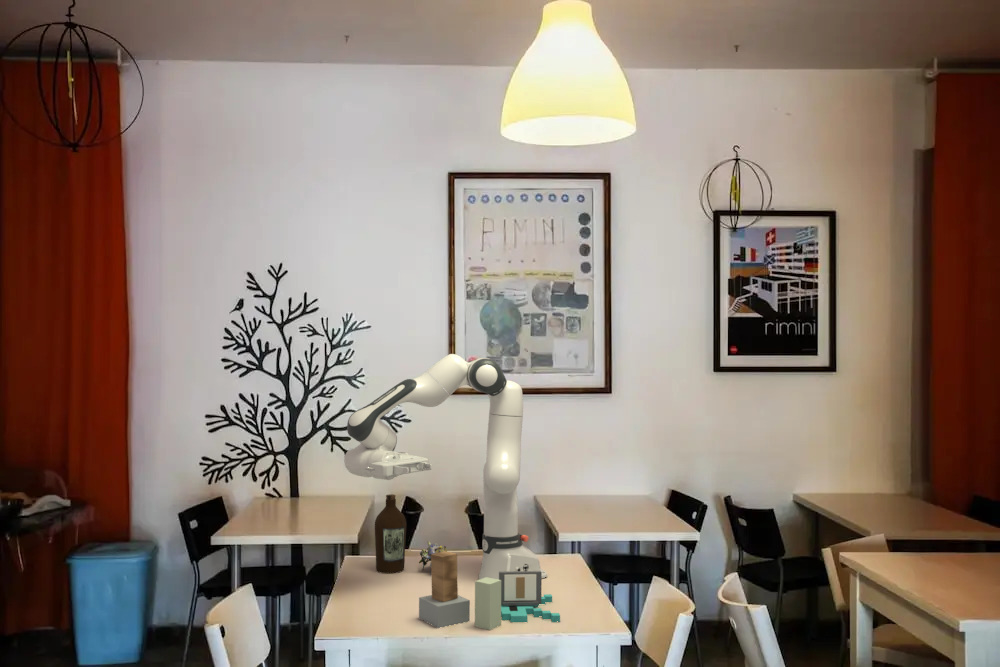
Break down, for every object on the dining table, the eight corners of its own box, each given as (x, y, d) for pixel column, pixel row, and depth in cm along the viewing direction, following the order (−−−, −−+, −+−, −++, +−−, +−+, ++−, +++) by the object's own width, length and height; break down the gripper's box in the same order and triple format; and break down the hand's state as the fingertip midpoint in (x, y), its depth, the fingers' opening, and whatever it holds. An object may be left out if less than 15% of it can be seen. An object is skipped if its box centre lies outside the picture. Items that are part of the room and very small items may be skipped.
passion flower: (442, 589, 275) (439, 565, 269) (412, 580, 279) (409, 556, 272) (456, 563, 284) (453, 539, 277) (427, 555, 288) (424, 531, 281)
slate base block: (449, 613, 234) (450, 591, 234) (469, 622, 225) (469, 600, 226) (418, 619, 228) (419, 597, 228) (437, 629, 220) (438, 606, 220)
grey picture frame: (539, 599, 239) (539, 568, 239) (541, 605, 234) (541, 572, 234) (498, 600, 238) (498, 568, 238) (499, 605, 233) (499, 573, 233)
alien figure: (551, 601, 245) (483, 602, 244) (551, 594, 245) (483, 595, 244) (560, 623, 225) (486, 624, 224) (560, 615, 225) (486, 616, 224)
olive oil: (370, 567, 281) (371, 493, 282) (400, 564, 286) (401, 491, 286) (379, 575, 272) (379, 498, 272) (410, 572, 276) (410, 496, 277)
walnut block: (446, 594, 230) (445, 550, 231) (457, 598, 227) (456, 553, 227) (431, 598, 227) (431, 554, 227) (443, 602, 223) (442, 556, 224)
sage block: (486, 621, 225) (486, 577, 226) (501, 625, 222) (501, 580, 223) (474, 626, 221) (475, 581, 222) (489, 630, 218) (490, 584, 219)
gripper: (362, 458, 249) (396, 461, 241) (408, 452, 265) (441, 455, 257) (361, 479, 249) (395, 483, 241) (408, 471, 265) (441, 475, 257)
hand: (419, 468), depth 249 cm, fingers open, 8 cm apart
